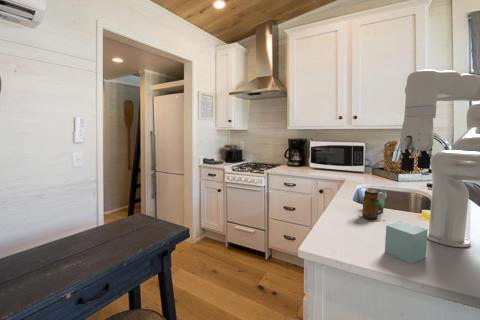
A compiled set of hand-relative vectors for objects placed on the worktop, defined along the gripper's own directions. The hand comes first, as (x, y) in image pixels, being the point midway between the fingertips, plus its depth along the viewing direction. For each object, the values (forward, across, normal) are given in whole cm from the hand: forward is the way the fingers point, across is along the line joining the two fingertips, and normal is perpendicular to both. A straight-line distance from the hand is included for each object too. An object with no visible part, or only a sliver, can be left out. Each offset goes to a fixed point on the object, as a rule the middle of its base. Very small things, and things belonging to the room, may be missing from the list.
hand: (415, 169), depth 72 cm
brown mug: (+27, -18, -24) cm, 40 cm away
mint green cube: (+26, +4, +1) cm, 27 cm away
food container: (+26, -30, -28) cm, 49 cm away
